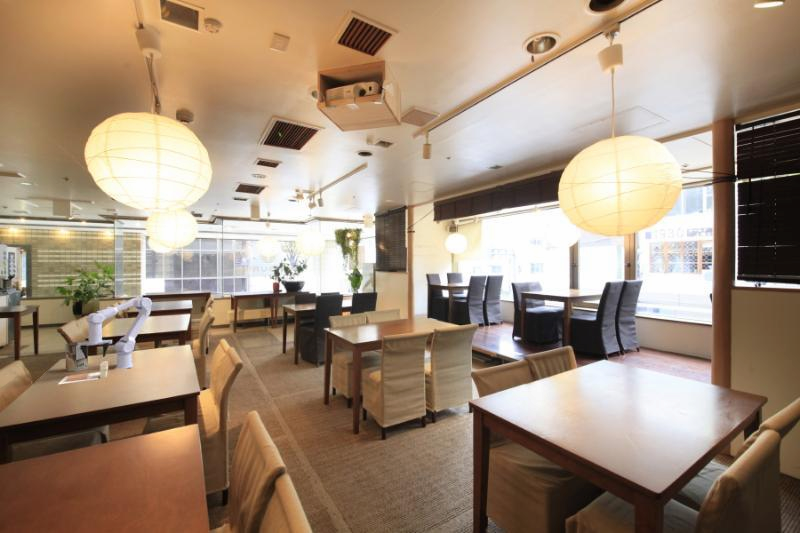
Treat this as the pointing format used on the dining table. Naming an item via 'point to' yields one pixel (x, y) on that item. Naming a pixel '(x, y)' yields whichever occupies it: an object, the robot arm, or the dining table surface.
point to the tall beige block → (103, 369)
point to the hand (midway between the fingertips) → (95, 357)
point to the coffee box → (75, 357)
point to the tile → (78, 377)
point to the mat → (91, 377)
